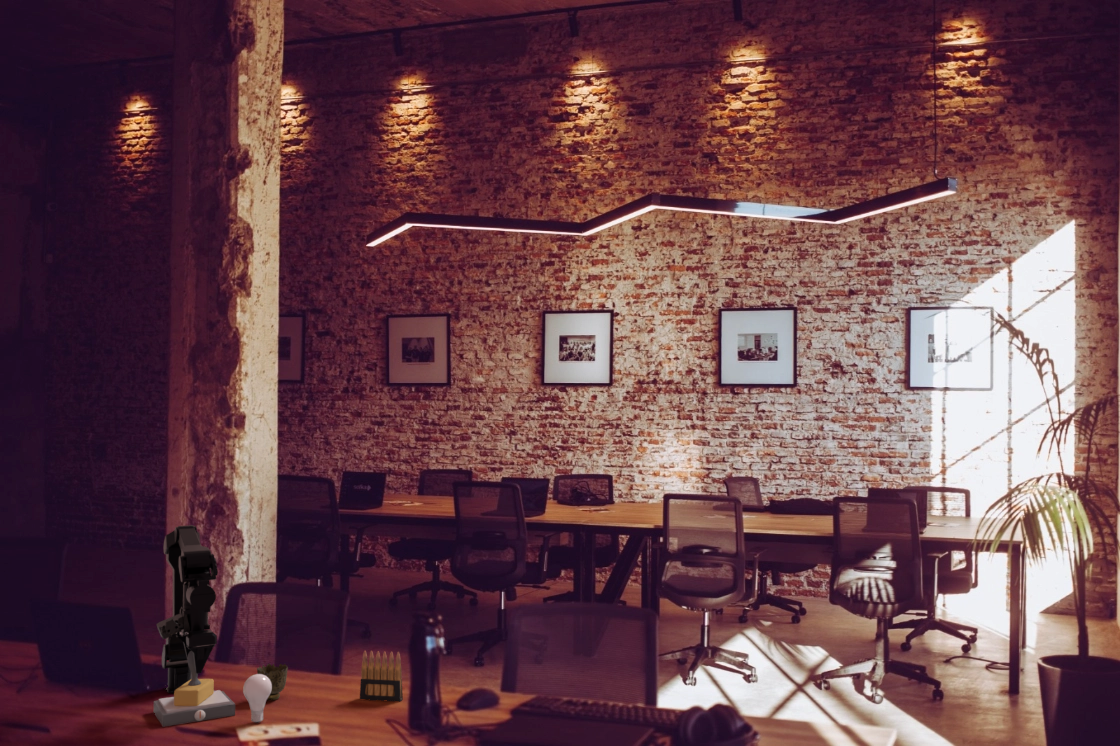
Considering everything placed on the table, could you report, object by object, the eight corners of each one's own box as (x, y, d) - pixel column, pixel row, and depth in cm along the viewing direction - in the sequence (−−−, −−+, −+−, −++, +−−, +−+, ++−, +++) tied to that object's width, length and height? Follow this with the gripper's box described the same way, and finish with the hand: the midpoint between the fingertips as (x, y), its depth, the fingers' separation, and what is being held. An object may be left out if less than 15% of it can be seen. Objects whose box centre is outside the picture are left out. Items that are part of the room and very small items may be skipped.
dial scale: (153, 712, 228) (153, 698, 228) (222, 701, 236) (222, 688, 237) (163, 727, 216) (163, 713, 217) (235, 715, 225) (235, 702, 225)
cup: (292, 695, 242) (292, 663, 242) (280, 703, 234) (281, 670, 235) (263, 694, 242) (264, 662, 243) (251, 703, 235) (252, 670, 236)
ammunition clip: (359, 699, 238) (359, 651, 238) (362, 697, 240) (362, 649, 240) (400, 701, 236) (400, 652, 237) (402, 699, 238) (403, 651, 238)
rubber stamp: (198, 706, 222) (198, 654, 222) (173, 706, 222) (174, 654, 223) (214, 694, 232) (214, 644, 232) (190, 693, 232) (191, 644, 233)
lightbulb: (245, 728, 215) (245, 679, 216) (240, 720, 221) (241, 672, 222) (273, 724, 218) (274, 675, 219) (268, 716, 224) (269, 669, 225)
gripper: (153, 600, 232) (152, 665, 231) (166, 613, 216) (165, 683, 215) (201, 595, 238) (200, 659, 237) (217, 608, 222) (216, 676, 221)
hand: (194, 668), depth 227 cm, fingers open, 9 cm apart
